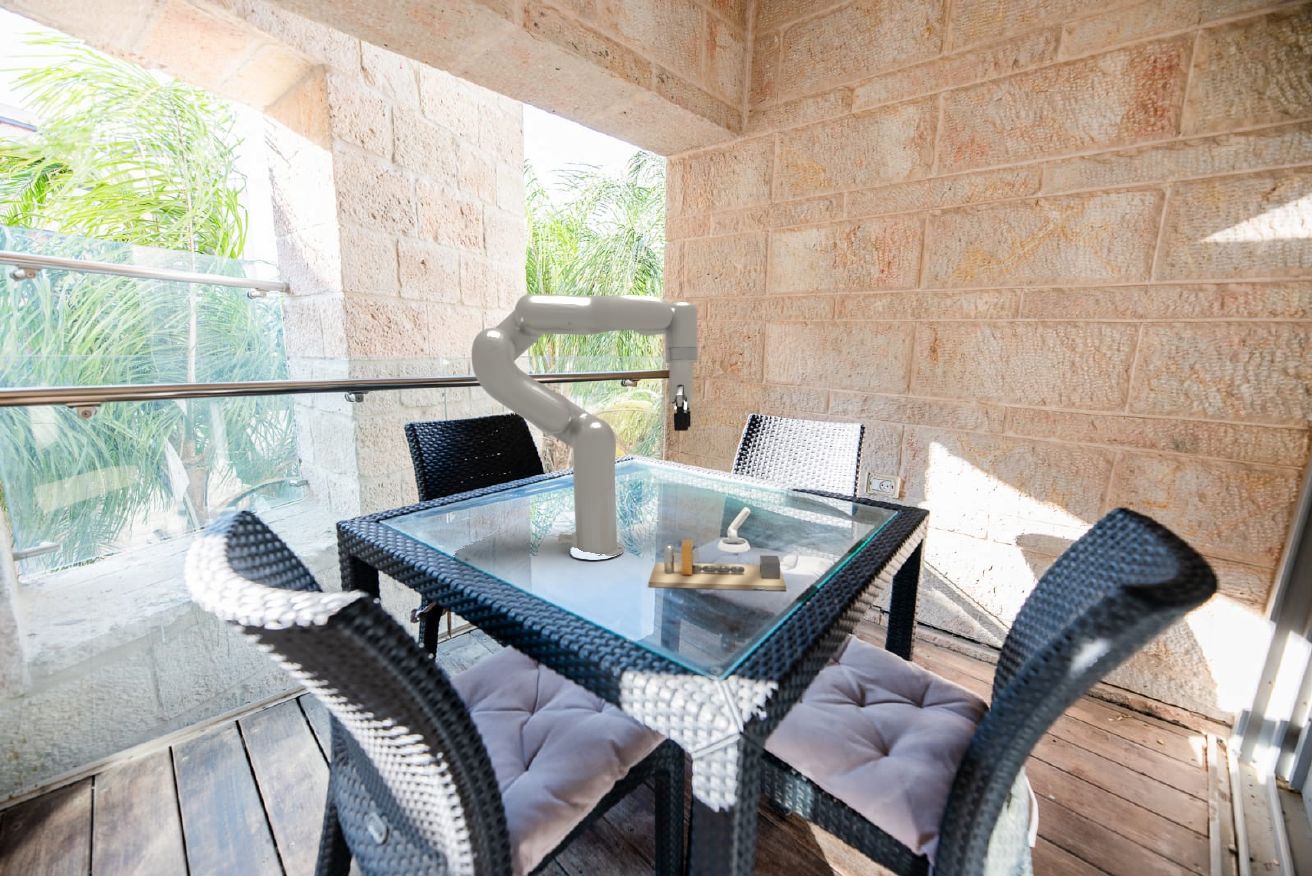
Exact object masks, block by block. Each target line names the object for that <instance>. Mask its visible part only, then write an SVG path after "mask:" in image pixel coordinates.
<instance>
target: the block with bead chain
mask: <svg viewBox="0 0 1312 876" xmlns="http://www.w3.org/2000/svg"><path fill="white" fill-rule="evenodd" d="M693 543H694V541H693V539H682V542H681V553H682V561H681V563H682V574H689V575H692V572H700V571H702V570H703V571H704V572H715V571H716V570H717V571H718V572H730V570H731V572H733V573H743V572H744V571H745V569H744V567H738V566H733V567H731V569H730V567H729V566H718V567H717V568H716V567H715V566H703V568H702V567H701V566H697V565H693V563H694V561H692V553H694V552H693V551H694V550H693V547H694V545H693Z"/></svg>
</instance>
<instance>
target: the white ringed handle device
mask: <svg viewBox="0 0 1312 876" xmlns="http://www.w3.org/2000/svg"><path fill="white" fill-rule="evenodd" d="M750 513H751V510H750V508H748V507H747V506H745V507H743V509H742V510H741V511H740V512H739V514H738V515H737V516H736V517H735V519H734V520H733V521H732V522H731V524H730V525H729V526H728V528H727V532H726V533H727V537H723V538H722V539H720V540H719V543H718V544H717V549H718V550H719V551H722V552H726V553H733V554H735V553H738V554H740V553H745V552H749V551H750V549H751V546H750V543H749V542H748V540H747V539H746V538H742V537H739V535H738V529H739V528H740V527H741V526H742V524H743V523H744V521H746V519H747V518H748V516H749V515H750Z"/></svg>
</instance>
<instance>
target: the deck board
mask: <svg viewBox="0 0 1312 876" xmlns="http://www.w3.org/2000/svg"><path fill="white" fill-rule="evenodd" d="M693 565H697V566H701V567H702V568H703V566H715V567H716V568H717V567H718V566H729V567H730V569H731V567H733V566H738V567H744V569H745V571H744V572H743V573H733V572H731V570H730V572H718V571H717V570H716V571H715V572H704V571H703V570H702V571H700V572H692V575H689V574H682V562H674V573H672V574H666V573H664V562H658V561H657V562H655V563H654V565H653V568H652V571H651V574H650V577H649V579H648V580H649V581H648V587H649V588H668V589H669V588H671V589H672V588H673V589H675V588H676V589H677V588H678V589H703V590H704V589H706V590H739V591H741V590H742V591H754V590H753V589H758V588H764V589H766V590H778V591H777V592H780V591H779V590H786V591H787V584H786V582H785V578H784V575H783V572H782V570H781V568H780V579H762V578H761V573H760V564H739V563H738V564H736V563H735V564H734V563H732V564H731V563H727V564H726V563H700V562H699V563H698V562H697V563H695V562H693ZM766 590H765V591H766Z"/></svg>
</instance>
